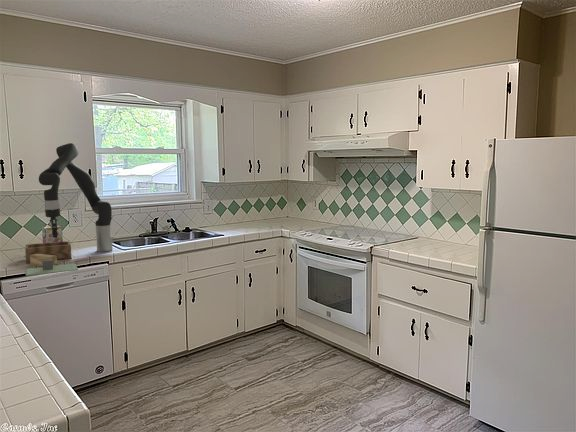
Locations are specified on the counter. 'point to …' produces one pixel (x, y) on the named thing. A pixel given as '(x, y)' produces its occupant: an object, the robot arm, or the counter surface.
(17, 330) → the counter surface
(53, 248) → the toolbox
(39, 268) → the lid
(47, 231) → the candy bar box
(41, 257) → the tan block
